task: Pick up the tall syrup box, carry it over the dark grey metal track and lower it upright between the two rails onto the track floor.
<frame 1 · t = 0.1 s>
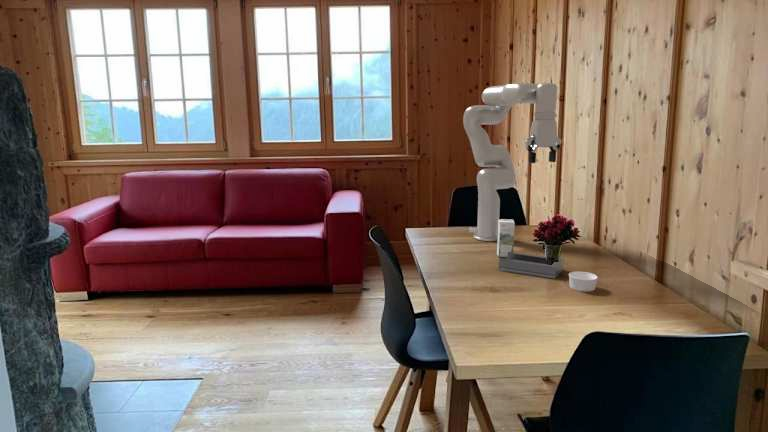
hand: (542, 162, 208), 37 cm above the table, tool pointing down, fingers open, 9 cm apart
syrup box: (504, 256, 216), on the table
ramekin: (582, 288, 178), on the table
track: (530, 269, 197), on the table
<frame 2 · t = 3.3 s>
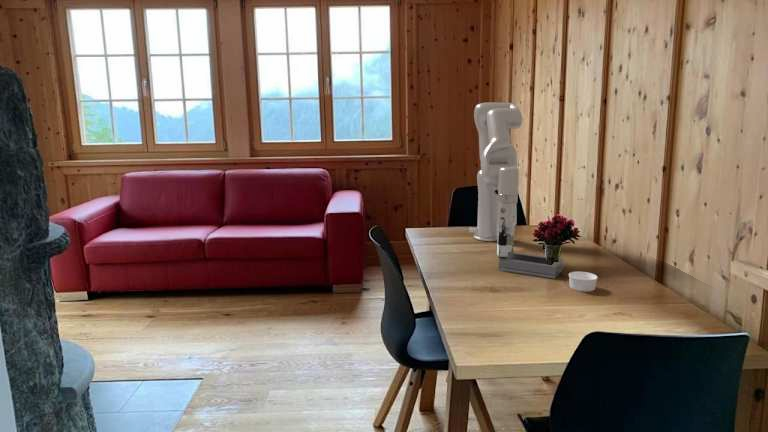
hand: (505, 242, 214), 5 cm above the table, tool pointing down, fingers closed on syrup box, 7 cm apart
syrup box: (504, 256, 216), on the table, touching gripper
everything else where it was.
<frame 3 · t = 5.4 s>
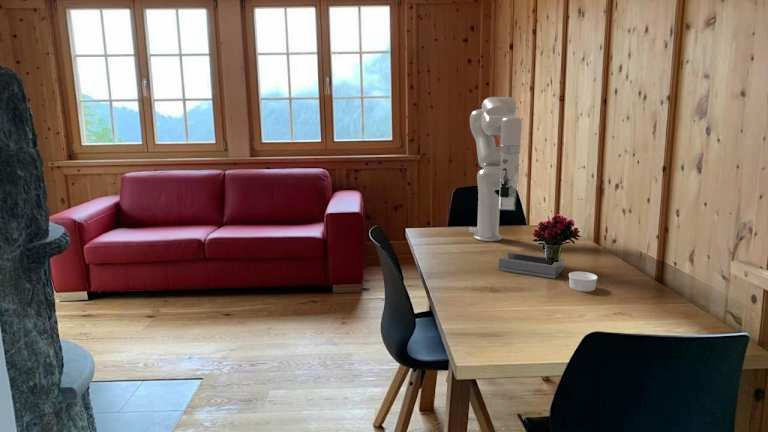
hand: (507, 195, 211), 24 cm above the table, tool pointing down, fingers closed on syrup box, 7 cm apart
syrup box: (506, 209, 212), point 19 cm above the table, touching gripper
everything else where it was.
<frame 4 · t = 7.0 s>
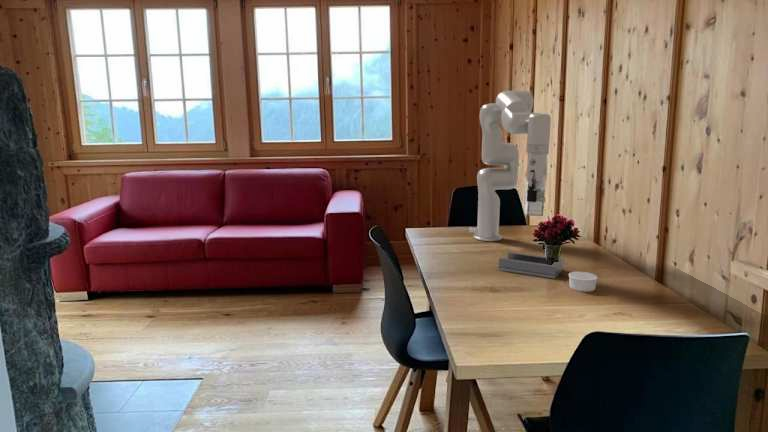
hand: (534, 199, 192), 26 cm above the table, tool pointing down, fingers closed on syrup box, 7 cm apart
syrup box: (533, 215, 193), point 20 cm above the table, touching gripper
everything else where it was.
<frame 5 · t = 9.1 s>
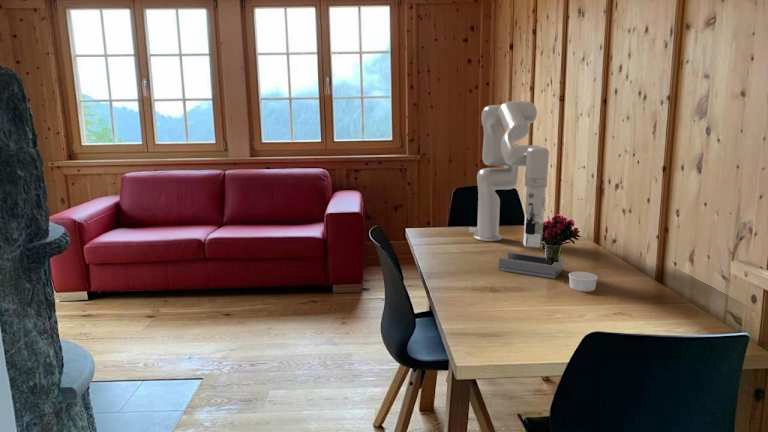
hand: (533, 231, 194), 14 cm above the table, tool pointing down, fingers closed on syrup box, 7 cm apart
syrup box: (532, 246, 195), point 9 cm above the table, touching gripper
everything else where it was.
when the fingers open (8 cm above the table, at t = 11.0 s): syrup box drops 1 cm, resting on track.
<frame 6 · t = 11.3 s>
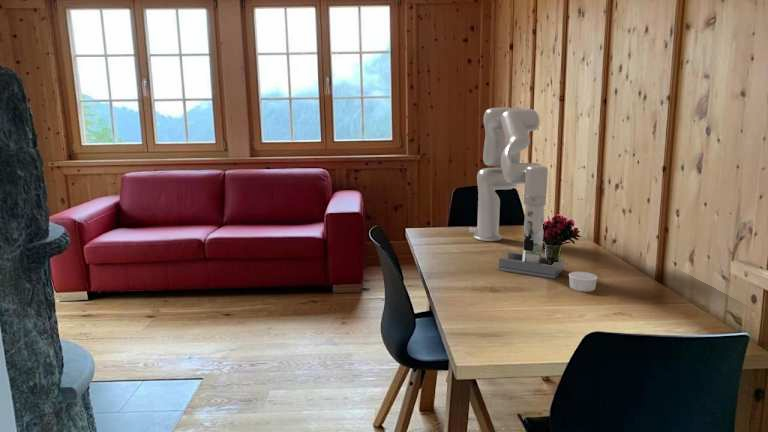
hand: (532, 247, 196), 8 cm above the table, tool pointing down, fingers open, 9 cm apart
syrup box: (530, 267, 197), point 1 cm above the table, touching track
everything else where it was.
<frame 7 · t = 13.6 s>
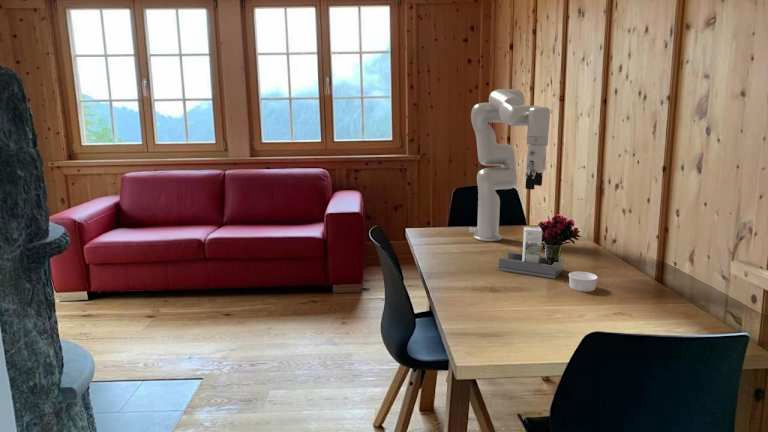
hand: (533, 187, 203), 28 cm above the table, tool pointing down, fingers open, 9 cm apart
nothing on the table moved.
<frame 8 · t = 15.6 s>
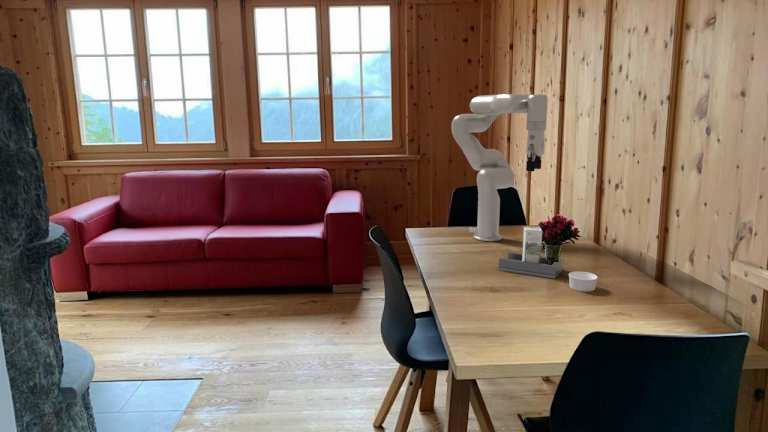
hand: (533, 169, 217), 33 cm above the table, tool pointing down, fingers open, 9 cm apart
nothing on the table moved.
at the end: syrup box inside the target area on the track (0.2 cm from its centre), point 0.8 cm above the track's base; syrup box tilted 0°; the gripper is holding nothing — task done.
